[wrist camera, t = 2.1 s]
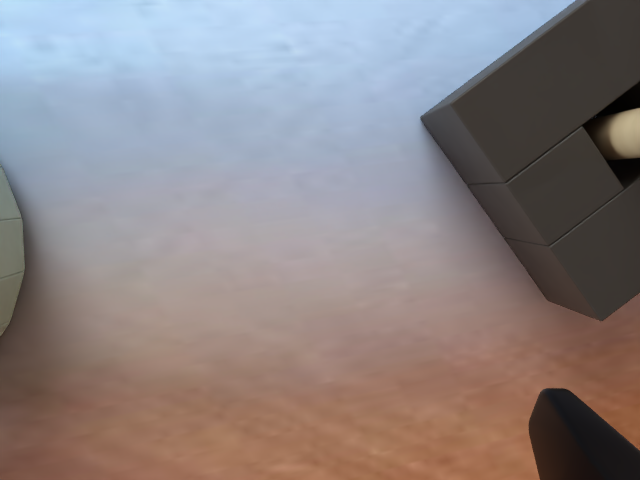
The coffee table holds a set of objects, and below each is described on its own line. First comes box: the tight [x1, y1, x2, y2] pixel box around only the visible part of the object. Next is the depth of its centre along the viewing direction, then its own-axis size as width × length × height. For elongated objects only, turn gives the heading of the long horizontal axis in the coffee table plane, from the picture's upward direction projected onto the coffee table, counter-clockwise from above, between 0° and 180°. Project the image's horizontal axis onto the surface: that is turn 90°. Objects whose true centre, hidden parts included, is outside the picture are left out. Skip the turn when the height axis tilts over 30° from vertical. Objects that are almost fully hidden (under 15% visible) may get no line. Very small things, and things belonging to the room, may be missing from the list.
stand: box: [421, 0, 640, 321], centre depth 22 cm, size 9×9×4 cm
